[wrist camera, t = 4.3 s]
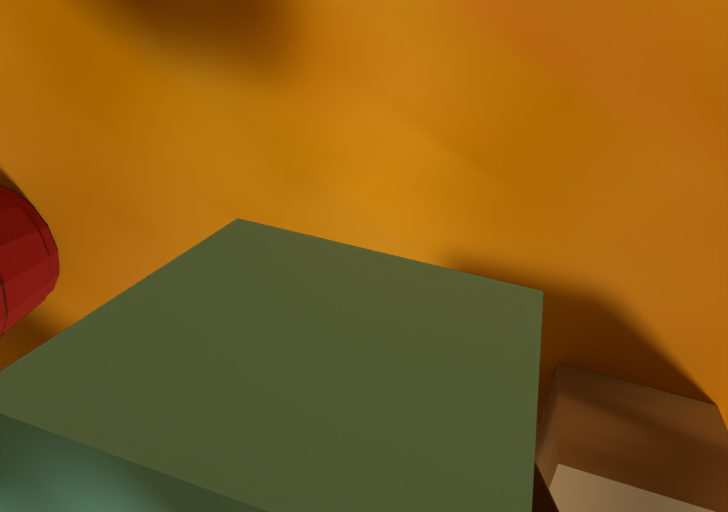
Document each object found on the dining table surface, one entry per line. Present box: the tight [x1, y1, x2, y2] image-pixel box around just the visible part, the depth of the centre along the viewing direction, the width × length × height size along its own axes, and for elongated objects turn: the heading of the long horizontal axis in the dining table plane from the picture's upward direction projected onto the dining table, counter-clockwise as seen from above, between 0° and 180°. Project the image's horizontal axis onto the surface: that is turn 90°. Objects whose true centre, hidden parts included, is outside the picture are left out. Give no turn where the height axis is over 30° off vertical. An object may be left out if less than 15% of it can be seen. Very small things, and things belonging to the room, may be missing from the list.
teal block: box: [0, 218, 544, 512], centre depth 8 cm, size 5×5×5 cm
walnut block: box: [535, 363, 728, 512], centre depth 18 cm, size 5×5×5 cm
